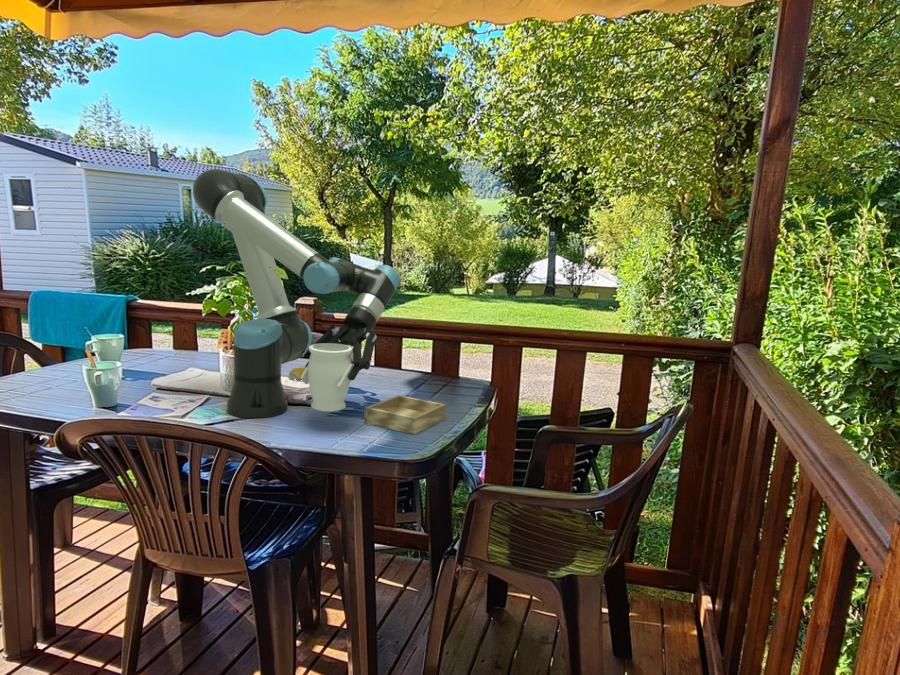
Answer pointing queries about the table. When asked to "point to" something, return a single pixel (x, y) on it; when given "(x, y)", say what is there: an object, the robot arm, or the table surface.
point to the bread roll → (296, 373)
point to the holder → (405, 414)
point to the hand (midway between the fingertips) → (321, 385)
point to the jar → (328, 375)
